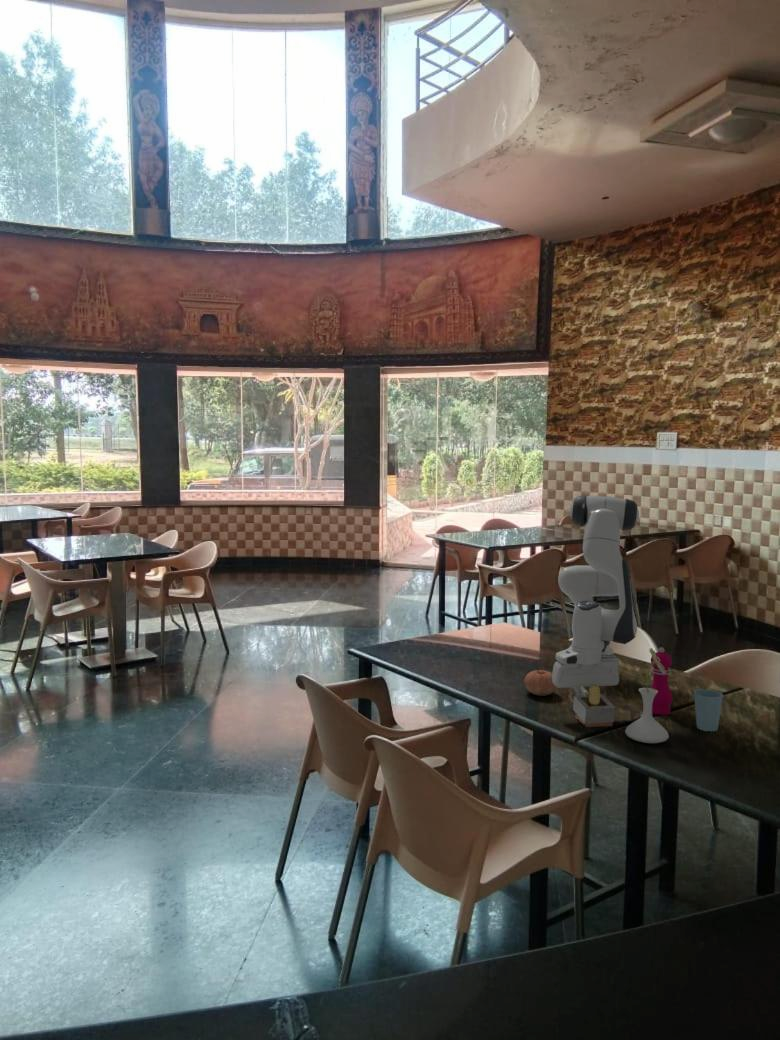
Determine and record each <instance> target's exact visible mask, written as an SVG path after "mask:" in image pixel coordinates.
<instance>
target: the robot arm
mask: <svg viewBox="0 0 780 1040" xmlns="http://www.w3.org/2000/svg"><path fill="white" fill-rule="evenodd" d="M639 511H640V510H639V507H638V504H637V503H636V501H634V500H632V499H628V498H625V499H624V498H620V497H614V496H608V495H606V496H601V495H599V496H598V495H588V496H587V495H577V496H576V497H574V498H573V501H572V502H571V504H570V508H569V515H570V518H571V522H572V523H573V524H574V525H576V526H578V527H580V528H583V527H584V532H583V538H582V539H583V541H582V553H583V558H584V560H585V562H586V563H587V564H588V565H580V564H579V565H578V564H577V565H570V566H565V567H563V568H562V569H561V570H560V571H559V574H558V578H557V584H558V587H559V589H560V590H561V592H562V593H564V594H565V595H566V596H567V597H568V598H569V599H570V600H571V602H572V604H573V606H574V608H573V611H572V612H573V613H572V618H571V632H572V641H571V645H570V646H569V647H568V648H566V649H563V650H561V651H558V652H556V653H555V660H556V661H555V662H554V664H553V667H552V672H551V673H552V683H553V684H554V685H555V686H556V687H557V689H558V688H560V689H561V688H563V689H564V688H565V689H566V688H573V690H574V692H575V691H576V693H577V695H583V694H581V693H580V691H579V690H581V687H584V688H585V687H586V688H587V687H590V686H591V685H597V686H599V687H607V686H618V684H619V682H620V672H619V665H620V664H619V663H620V661H619V660H620V659H619V658H618V656H616V655H615V654H614V650H613V648H612V647H611V646H610V644H611V642H613V643H618V644H622V645H626V644H628V643H630V642H632V641H633V640H634V639H635V638H636V637H637V632H638V624H637V619H636V616H635V615H636V614H635V606H634V598H633V597H634V596H633V587H632V577H631V569H630V566H629V563H628V561H627V559H625V558H623V556H622V554H621V550H620V549H621V548H620V546H621V545H620V544H621V531H623V532H624V531H631V530H632V529H634V528H635V527H636V525H637V523H638V520H639V517H640V512H639ZM615 596H618V601H619V602H618V603H619V608H617V609H606V608H604V607H603V606H601V603H600V602H598V601H596V600H595V601H594V600H593V597H615Z"/></svg>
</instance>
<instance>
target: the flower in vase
mask: <svg viewBox="0 0 780 1040" xmlns="http://www.w3.org/2000/svg"><path fill="white" fill-rule="evenodd" d="M649 653H650V655H651V657H653V659H654V660H653V663H652V664H651V665H650V666H649V669H648V670H647V673H645V677H646V683H644V684H643V685H644V686H645V685H646V687H642V688H641V687H640V688H638V692H639V693H640V694H641V697H642V705H643V709H642V715H641V717H640V718H638V719H637V720H635V721H633V722H632V723H629V725H628V726H627V727H626V729H625V731H624V732H625V734H626V736H627V737H628V738H630V739H632V740H634V741H636V742H639V743H640V742H641V743H644V744H659V743H664V742H666V741H667V740H668V739H669V737H670V736H669V732H668V731H667V729H665V727H663V725H661V724H660V723H659V722H658V721H657V720H656V719H655V718H654V717H653V713H652V703H653V699H654V697H655V695H656V694H657V693H658V691H657V690H655V689H652V688H650V687H649V685H652V683H653V679H652V680H651V678H650V677H649V674H650V671H651V670H652V667H653V664H657V666H658V668H659V669H660V670H661V672H662V673H663V674H665V673H666V671H665V670H664V669H665V668H664V667H663V666H662V664H661V663H660V659H659V658H658V657H657V656H656V651H655V650H654V649H653V647H650V648H649Z"/></svg>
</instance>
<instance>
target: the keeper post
mask: <svg viewBox="0 0 780 1040" xmlns="http://www.w3.org/2000/svg"><path fill="white" fill-rule="evenodd" d="M588 693H589V703H588V706H589V707H591V706H600V694H601V689H600V686H597V685H591V686H589V688H588ZM574 715H575V716H574V717H575V718H574V719H576V720H577V719H578V720H579V721H578V720H577V721H578V722H580V723H581V724H582V725H583V726H584V725H585V726H584V727H586V728H596V727H612V726H613V724H614V722H607V723H587V724H585V723H584V722H583V721H582V720H581V719H580V717H579V716H578V715H577V714H574Z"/></svg>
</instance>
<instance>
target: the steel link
mask: <svg viewBox="0 0 780 1040" xmlns="http://www.w3.org/2000/svg"><path fill="white" fill-rule="evenodd" d="M579 691H580V693H581V694H583V695H577V693H576V691H575V690H574V695H573V699H572V700H573V702H572V703H573V705H572V710H573V711H574V713H575V715H578V716H579V717H580V719H581V720H582V721H583V722H584V723H585V724H587V723H607V722H613V723H615V719H616V718H615V717H616V707H615V706H614V705H613V703H612V702H611V701H610V700H609V699H608V698H607V697H606V696H605V695H604V694H601V693H600V706H591V707H589V706H588V703H589V691H587V689H586V688H585V687H581V690H579Z"/></svg>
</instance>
